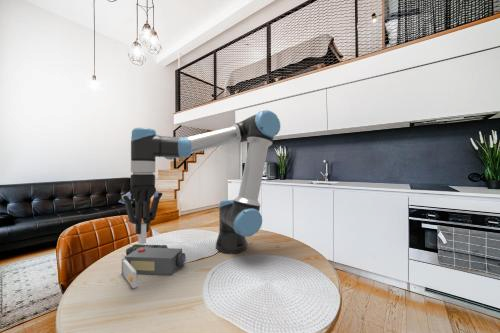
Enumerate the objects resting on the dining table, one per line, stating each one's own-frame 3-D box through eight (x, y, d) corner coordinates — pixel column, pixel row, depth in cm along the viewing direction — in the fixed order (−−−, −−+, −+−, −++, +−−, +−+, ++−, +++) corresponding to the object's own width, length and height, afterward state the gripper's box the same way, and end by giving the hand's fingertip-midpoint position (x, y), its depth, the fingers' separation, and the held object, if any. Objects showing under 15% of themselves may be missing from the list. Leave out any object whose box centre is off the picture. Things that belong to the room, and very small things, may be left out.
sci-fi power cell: (161, 253, 83) (173, 243, 93) (117, 251, 85) (134, 242, 94) (161, 263, 83) (173, 253, 93) (117, 261, 85) (134, 251, 94)
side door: (137, 287, 65) (137, 270, 65) (130, 289, 64) (130, 272, 64) (125, 272, 74) (125, 257, 74) (119, 274, 73) (120, 259, 73)
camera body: (187, 263, 82) (187, 246, 82) (177, 275, 73) (177, 256, 73) (139, 261, 83) (139, 245, 83) (124, 273, 74) (124, 254, 74)
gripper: (156, 173, 77) (155, 235, 77) (117, 173, 67) (116, 245, 67) (166, 173, 72) (165, 240, 72) (126, 174, 62) (124, 251, 62)
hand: (142, 242), depth 69 cm, fingers closed
